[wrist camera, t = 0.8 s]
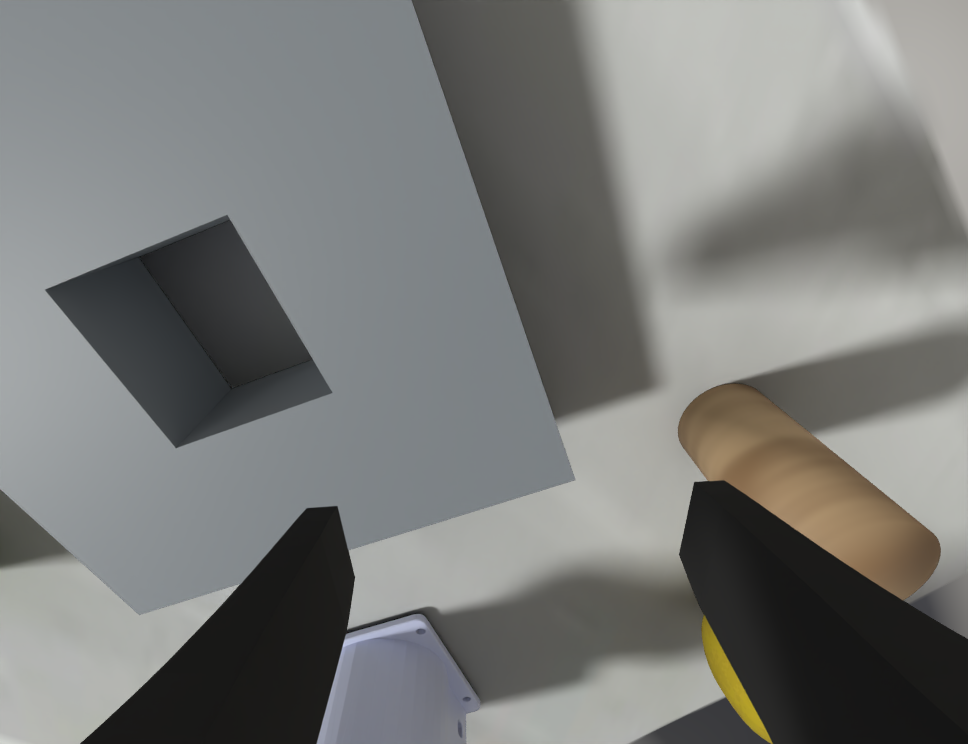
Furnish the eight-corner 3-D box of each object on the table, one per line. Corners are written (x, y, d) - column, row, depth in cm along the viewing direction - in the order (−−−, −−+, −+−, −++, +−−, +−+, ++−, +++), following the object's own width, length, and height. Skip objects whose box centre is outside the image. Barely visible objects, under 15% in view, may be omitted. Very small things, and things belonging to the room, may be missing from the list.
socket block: (554, 419, 20) (575, 479, 16) (192, 537, 22) (139, 615, 18) (367, -127, 12) (328, -244, 8) (-174, 135, 14) (-395, 132, 10)
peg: (771, 443, 21) (933, 599, 14) (684, 470, 21) (799, 633, 14) (764, 371, 19) (947, 505, 12) (671, 401, 20) (793, 548, 12)
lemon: (660, 580, 25) (742, 757, 17) (756, 533, 23) (887, 703, 16) (700, 630, 27) (787, 807, 20) (790, 590, 26) (919, 763, 18)
